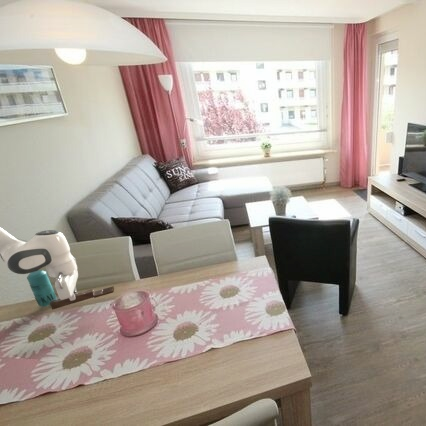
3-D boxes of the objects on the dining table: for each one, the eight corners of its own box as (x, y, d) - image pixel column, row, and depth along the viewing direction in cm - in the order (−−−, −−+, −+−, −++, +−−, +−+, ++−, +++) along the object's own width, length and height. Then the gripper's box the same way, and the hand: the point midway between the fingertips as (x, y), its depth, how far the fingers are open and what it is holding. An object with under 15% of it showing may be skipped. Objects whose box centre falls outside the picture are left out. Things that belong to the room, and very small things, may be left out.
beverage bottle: (43, 303, 131) (26, 264, 124) (61, 299, 133) (45, 260, 127) (36, 311, 125) (18, 271, 119) (55, 307, 128) (38, 267, 121)
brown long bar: (114, 287, 131) (112, 282, 130) (113, 292, 127) (111, 286, 126) (53, 305, 120) (51, 299, 119) (51, 310, 117) (49, 305, 116)
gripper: (68, 276, 110) (80, 307, 115) (75, 256, 127) (86, 283, 131) (46, 282, 107) (59, 313, 112) (57, 260, 124) (68, 288, 128)
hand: (74, 297), depth 122 cm, fingers closed on brown long bar, 2 cm apart
